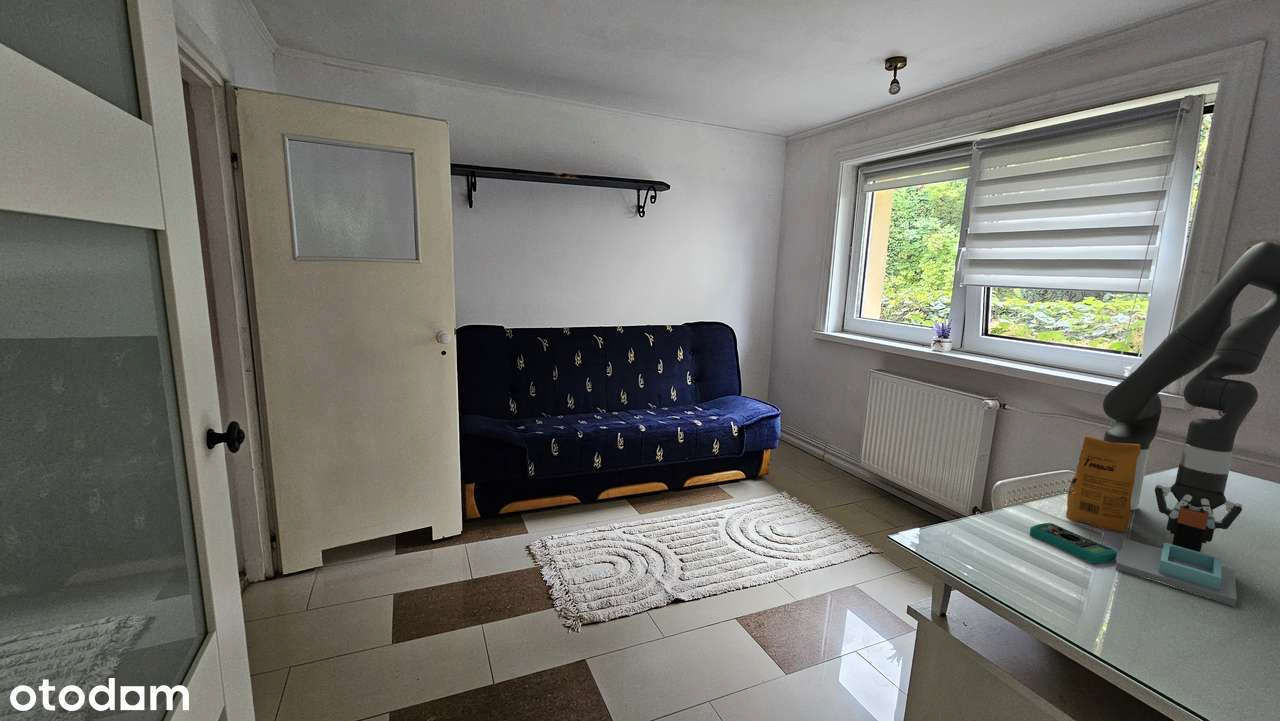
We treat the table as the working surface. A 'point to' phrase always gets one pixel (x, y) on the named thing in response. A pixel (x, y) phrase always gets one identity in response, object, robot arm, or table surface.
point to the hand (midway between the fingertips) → (1188, 537)
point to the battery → (1190, 528)
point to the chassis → (1180, 569)
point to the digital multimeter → (1073, 543)
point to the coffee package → (1103, 484)
